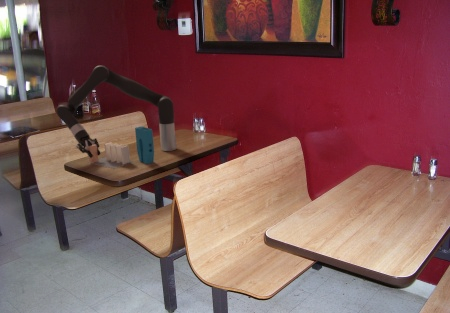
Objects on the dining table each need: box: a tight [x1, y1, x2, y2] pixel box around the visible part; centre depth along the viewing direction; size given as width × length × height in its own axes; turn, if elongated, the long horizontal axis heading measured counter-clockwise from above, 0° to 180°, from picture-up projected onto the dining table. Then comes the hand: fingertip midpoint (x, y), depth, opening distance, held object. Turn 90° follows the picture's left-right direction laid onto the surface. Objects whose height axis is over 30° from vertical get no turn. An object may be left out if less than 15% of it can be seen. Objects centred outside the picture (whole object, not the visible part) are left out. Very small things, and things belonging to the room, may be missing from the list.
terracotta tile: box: [88, 145, 99, 164], centre depth 268 cm, size 1×5×10 cm, turn 145°
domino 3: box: [115, 143, 124, 163], centre depth 267 cm, size 1×5×10 cm, turn 145°
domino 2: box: [110, 142, 119, 162], centre depth 270 cm, size 1×5×10 cm, turn 146°
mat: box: [87, 155, 134, 170], centre depth 269 cm, size 23×15×1 cm, turn 56°
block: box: [134, 126, 155, 165], centre depth 265 cm, size 12×5×20 cm, turn 40°
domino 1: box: [103, 141, 113, 161], centre depth 272 cm, size 1×5×10 cm, turn 145°
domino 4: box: [121, 144, 131, 165], centre depth 265 cm, size 1×5×10 cm, turn 145°
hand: (95, 155), depth 268 cm, fingers closed on terracotta tile, 5 cm apart
